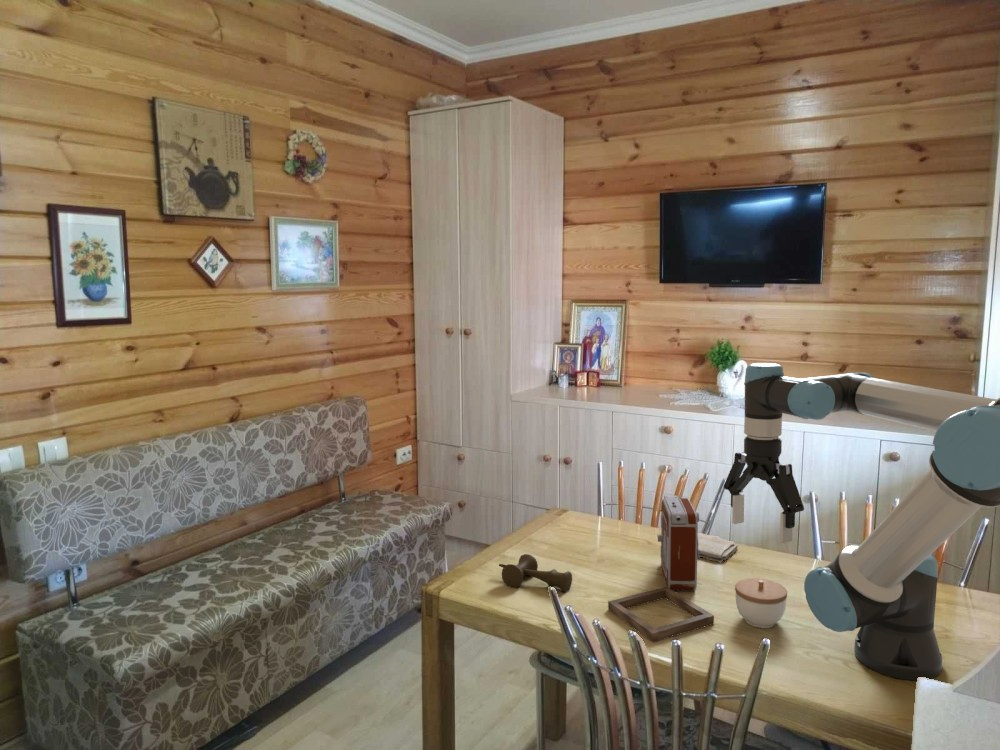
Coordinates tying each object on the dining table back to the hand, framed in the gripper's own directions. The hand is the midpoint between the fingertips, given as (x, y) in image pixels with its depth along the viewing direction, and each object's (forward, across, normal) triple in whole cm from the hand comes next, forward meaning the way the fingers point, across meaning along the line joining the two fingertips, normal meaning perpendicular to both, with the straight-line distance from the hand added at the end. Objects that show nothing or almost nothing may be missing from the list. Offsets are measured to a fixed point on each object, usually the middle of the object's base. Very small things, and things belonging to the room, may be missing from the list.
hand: (761, 532), depth 156 cm
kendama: (+20, +41, +34) cm, 57 cm away
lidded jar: (+21, 0, 0) cm, 21 cm away
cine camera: (+20, +27, +1) cm, 34 cm away
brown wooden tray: (+20, +12, +18) cm, 30 cm away
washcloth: (+20, +38, -16) cm, 46 cm away
